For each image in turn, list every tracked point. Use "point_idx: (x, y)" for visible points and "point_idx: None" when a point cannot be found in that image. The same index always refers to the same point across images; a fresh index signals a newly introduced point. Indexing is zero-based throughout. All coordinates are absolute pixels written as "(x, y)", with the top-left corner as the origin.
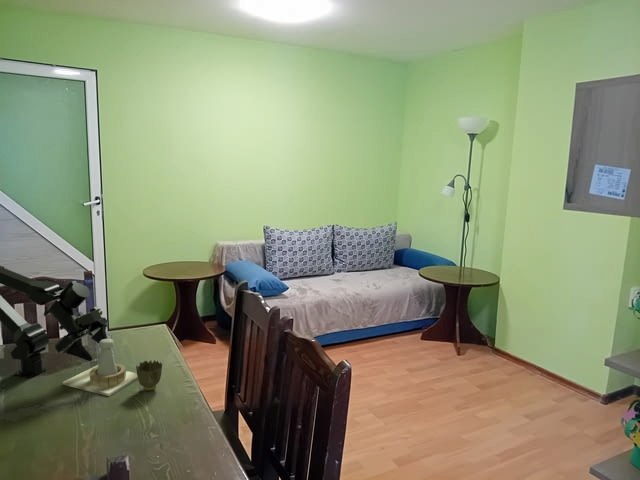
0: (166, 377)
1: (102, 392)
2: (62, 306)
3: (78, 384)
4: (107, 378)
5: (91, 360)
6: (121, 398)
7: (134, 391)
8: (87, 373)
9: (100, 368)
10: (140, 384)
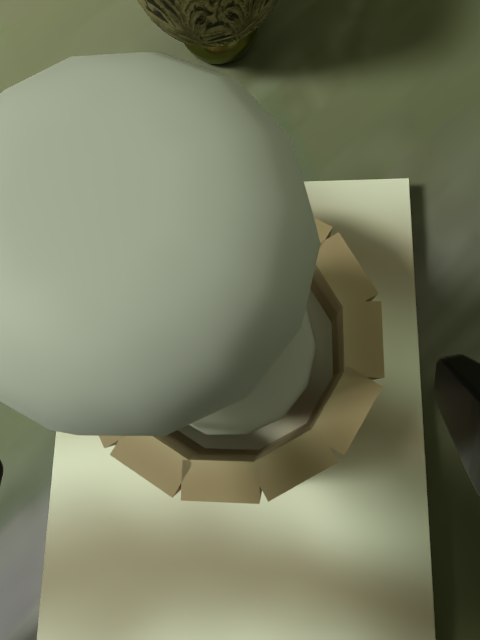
0: (44, 63)
1: (410, 237)
2: None
3: (404, 505)
4: (339, 238)
5: (439, 378)
6: (387, 102)
7: (277, 99)
8: (213, 599)
9: (306, 344)
10: (275, 4)
